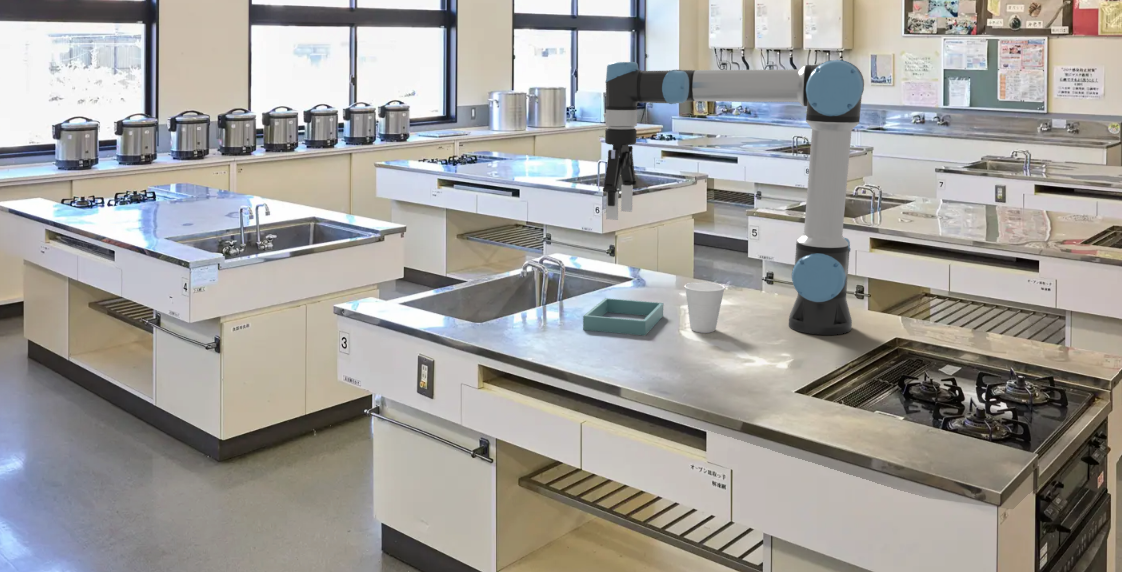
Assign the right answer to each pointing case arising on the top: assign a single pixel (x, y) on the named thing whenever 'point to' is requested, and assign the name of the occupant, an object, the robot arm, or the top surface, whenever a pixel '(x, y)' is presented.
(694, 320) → the cup
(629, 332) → the walled box
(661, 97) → the robot arm
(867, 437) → the top surface
